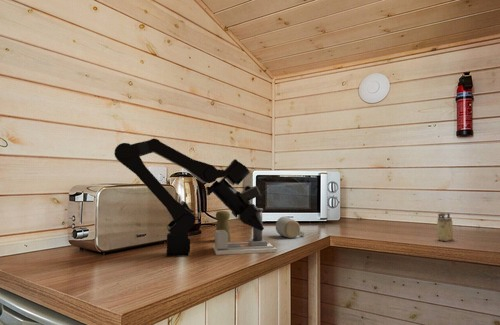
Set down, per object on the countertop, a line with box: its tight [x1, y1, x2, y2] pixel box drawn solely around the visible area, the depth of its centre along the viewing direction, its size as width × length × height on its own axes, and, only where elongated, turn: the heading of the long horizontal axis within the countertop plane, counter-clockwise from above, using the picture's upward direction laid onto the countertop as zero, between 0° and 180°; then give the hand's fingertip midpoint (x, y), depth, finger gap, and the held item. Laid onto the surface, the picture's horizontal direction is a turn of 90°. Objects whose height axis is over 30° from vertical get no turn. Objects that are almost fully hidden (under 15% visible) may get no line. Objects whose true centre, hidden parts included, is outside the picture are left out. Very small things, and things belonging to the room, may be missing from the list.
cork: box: [215, 210, 232, 243], centre depth 123 cm, size 6×6×11 cm
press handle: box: [248, 207, 268, 247], centre depth 109 cm, size 5×6×12 cm
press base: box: [212, 229, 278, 256], centre depth 107 cm, size 19×10×6 cm, turn 101°
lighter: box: [436, 212, 454, 242], centre depth 124 cm, size 7×4×10 cm, turn 124°
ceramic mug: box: [275, 216, 306, 239], centre depth 131 cm, size 11×8×8 cm
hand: (261, 228), depth 109 cm, fingers closed on press handle, 3 cm apart
